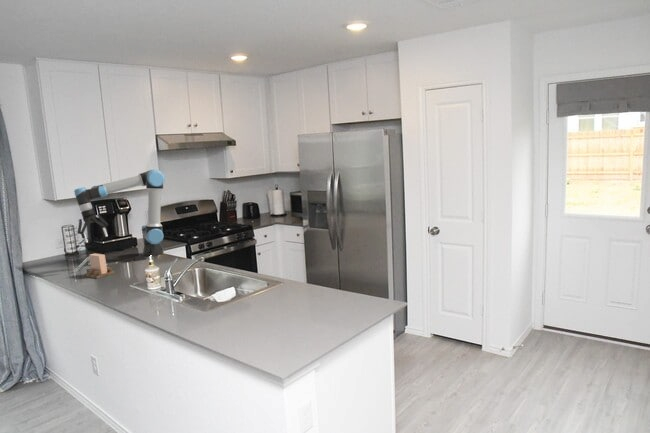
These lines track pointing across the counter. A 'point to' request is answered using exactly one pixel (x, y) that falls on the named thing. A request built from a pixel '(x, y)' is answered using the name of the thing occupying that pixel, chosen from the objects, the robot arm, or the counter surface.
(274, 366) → the counter surface
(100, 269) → the salmon pink square block
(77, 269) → the bracket
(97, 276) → the rack
